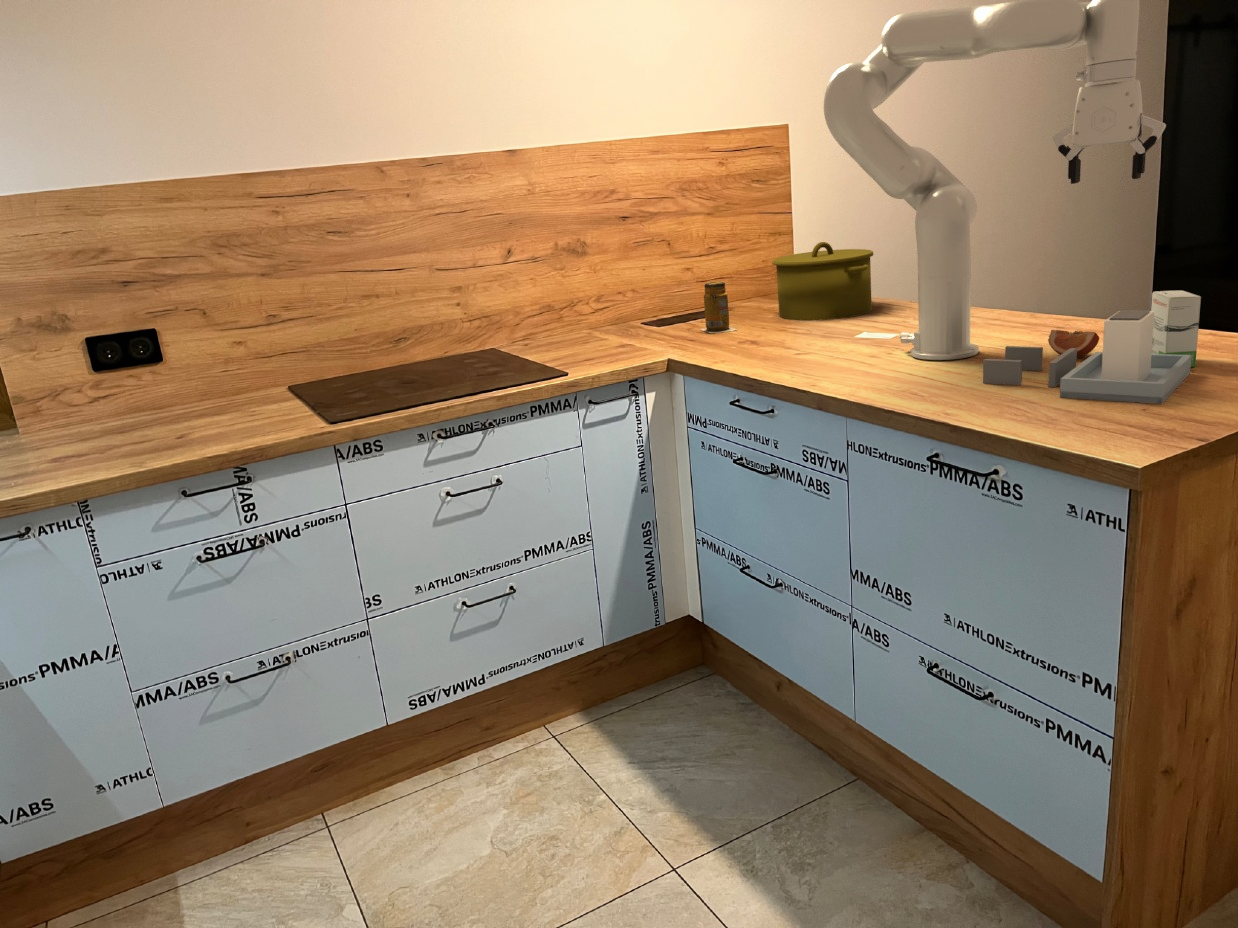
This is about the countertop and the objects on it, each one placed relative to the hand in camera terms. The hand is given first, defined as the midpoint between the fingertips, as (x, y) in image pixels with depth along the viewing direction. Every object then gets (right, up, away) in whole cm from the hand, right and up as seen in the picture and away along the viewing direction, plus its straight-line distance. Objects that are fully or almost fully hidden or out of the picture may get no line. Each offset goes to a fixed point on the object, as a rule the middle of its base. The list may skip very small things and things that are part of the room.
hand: (1105, 181), depth 160 cm
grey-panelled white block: (-4, -36, -14) cm, 39 cm away
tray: (-4, -37, -14) cm, 39 cm away
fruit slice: (-2, -30, +8) cm, 31 cm away
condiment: (-59, -15, +77) cm, 98 cm away
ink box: (+9, -32, -4) cm, 34 cm away
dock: (-14, -34, -3) cm, 37 cm away
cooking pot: (-30, -9, +85) cm, 91 cm away
